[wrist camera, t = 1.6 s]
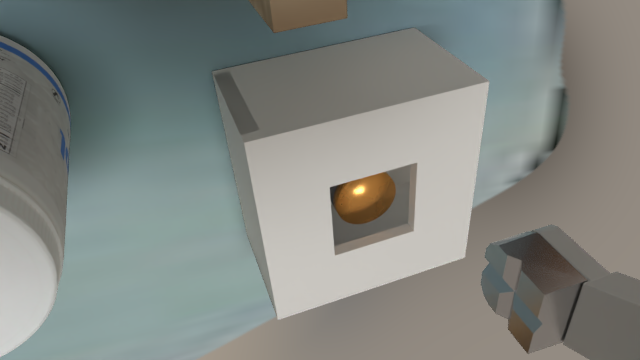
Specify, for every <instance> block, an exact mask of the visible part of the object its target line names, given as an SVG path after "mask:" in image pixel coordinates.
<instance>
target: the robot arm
mask: <svg viewBox="0 0 640 360" xmlns="http://www.w3.org/2000/svg"><path fill="white" fill-rule="evenodd" d="M485 258H486V259H487V261H489V264H488V265H487V267H486V268H485V269H484V270H483V272H482V279H481V286H482V290H483V294H484V297H485V299H486V300H487V302H488V304H489V306H490V307H491V308H492V310H493V311H494V312H495V313H496V314H498V315H500V316H502V317H504V318H507V319H508V330H509V331H510V332H511V334H512V335H513V336H514V337H515V339H516V340H517V341H518V342H519V344H520V345H521V346H522V347H523V349H524V350H525V351H526V352H527V353H528V354H529V353H532V352H535V351H538V350H541V349H544V348H547V347H550V346H553V345H556V344H559V343H562V342H563V345H565V346H567V347H568V348H570V349H572V350H574V351H576V352H577V353H579V354H581V355H583V356H584V357H586V358H588V359H590V360H640V280H638V279H635V278H632V277H630V276H627V275H624V274H621V273H618V272H614V273H611V274H610V273H609V272H608V271H607V270H606V269H605V268H604V267H603V266H602V265H600V264H599V263H598V262H597V261H596V260H595V259H594V258H593V257H591V256H590V255H589V254H588V253H587V252H586V251H585V250H584V249H582V248H581V247H580V246H579V245H578V244H577V243H576V242H574V240H572V239H571V238H570V237H569V236H568V235H567V234H566V233H565V232H564V231H562V230H561V229H560V228H559V227H557V226H555V225H549V226H546V227H542V228H539V229H536V230H532V231H530V232H525V233H521V234H518V235H515V236H512V237H509V238H506V239H503V240H500V241H497V242H494V243H491V244H490V245H489V246H488V247H487V248H486V253H485Z"/></svg>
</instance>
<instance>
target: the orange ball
mask: <svg viewBox="0 0 640 360" xmlns="http://www.w3.org/2000/svg"><path fill="white" fill-rule="evenodd" d="M395 194H396V187H395V183H394V181H393V180H392V178H391V177H390V176H389V175H388V173H387V172H382V173H379V174H375V175H371V176H368V177H364V178H361V179H357V180H354V181H350V182H347V183H343V184H339V185H336V186H332V187H330V199H331V203H332V204H333V206H334V208H335V209H336V211H337V213H338V214H339V216H340V217H341V219H343V220H344V221H345V222H347V223H350V224H364V223H368V222H371V221H373V220H375V219H377V218H378V217H380V216H381V215H382V214H384V213H385V212H386V211H387V210H388V208H389V207H390V206H391V204H392V202H393V200H394V198H395Z"/></svg>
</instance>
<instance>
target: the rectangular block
mask: <svg viewBox="0 0 640 360" xmlns="http://www.w3.org/2000/svg"><path fill="white" fill-rule="evenodd" d="M249 2H250V3H251V4H252V5H253V7H254V8H255V9H256V11H257V12H258V13H259V14H260V16H261V17H262V18H263V20H264V21H265V22H266V23H267V25H268V26H269V27H270V29H271V30H272V31H273V33H277V32H282V31H286V30H291V29H296V28H301V27H306V26H311V25H316V24H321V23H326V22H330V21H335V20H340V19H345V18H347V0H249Z"/></svg>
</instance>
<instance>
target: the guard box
mask: <svg viewBox="0 0 640 360" xmlns="http://www.w3.org/2000/svg"><path fill="white" fill-rule="evenodd" d="M212 74H213V79H214V84H215V88H216V93H217V97H218V102H219V107H220V111H221V116H222V121H223V125H224V130H225V135H226V139H227V144H228V149H229V153H230V158H231V162H232V167H233V172H234V176H235V181H236V186H237V190H238V195H239V200H240V204H241V209H242V214H243V218H244V223H245V228H246V232H247V236H248V239H249V241H250V244H251V247H252V250H253V252H254V255H255V258H256V261H257V263H258V266H259V269H260V272H261V274H262V277H263V280H264V283H265V285H266V288H267V291H268V294H269V297H270V299H271V302H272V305H273V308H274V310H275V313H276V316H277V319H278V320H279V319H282V318H285V317H288V316H291V315H294V314H297V313H300V312H303V311H306V310H309V309H312V308H315V307H318V306H321V305H324V304H327V303H330V302H333V301H336V300H339V299H342V298H345V297H348V296H351V295H354V294H357V293H360V292H363V291H366V290H369V289H372V288H375V287H378V286H381V285H384V284H387V283H390V282H393V281H396V280H399V279H402V278H405V277H407V276H411V275H414V274H417V273H420V272H423V271H426V270H429V269H432V268H435V267H437V266H441V265H444V264H447V263H450V262H453V261H456V260H459V259H461V258H465V251H466V245H467V238H468V231H469V224H470V217H471V209H472V202H473V195H474V188H475V181H476V174H477V167H478V159H479V152H480V145H481V138H482V131H483V124H484V117H485V109H486V102H487V95H488V88H489V81H488V80H487V79H486V78H484V77H483V76H481V75H480V74H479V73H477V72H476V71H474V70H473V69H472V68H470V67H469V66H467V65H466V64H465V63H463V62H462V61H460V60H459V59H458V58H456V57H455V56H453V55H452V54H451V53H449V52H448V51H446V50H445V49H444V48H442V47H441V46H439V45H438V44H437V43H435V42H434V41H432V40H431V39H430V38H428V37H427V36H426V35H424V34H423V33H421V32H420V31H419V30H417V29H416V28H410V29H405V30H401V31H396V32H391V33H387V34H382V35H378V36H373V37H368V38H364V39H359V40H354V41H350V42H345V43H341V44H336V45H331V46H327V47H322V48H317V49H313V50H308V51H304V52H299V53H294V54H290V55H285V56H280V57H276V58H271V59H267V60H262V61H257V62H253V63H248V64H243V65H239V66H234V67H230V68H225V69H220V70H216V71H212ZM382 172H387V173H388V175H389V176H390V177H391V178H392V180H393V181H394V183H395V187H396V194H395V198H394V200H393V202H392V204H391V206H390V207H389V208H388V210H387V211H386V212H385V213H384V214H382V215H381V216H380V217H378V218H377V219H375V220H373V221H371V222H368V223H364V224H350V223H347V222H345V221H344V220H343V219H341V217H340V216H339V214H338V213H337V211H336V209H335V208H334V206H333V204H332V203H331V199H330V187H332V186H336V185H339V184H343V183H347V182H350V181H354V180H357V179H361V178H364V177H368V176H371V175H375V174H379V173H382Z"/></svg>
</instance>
